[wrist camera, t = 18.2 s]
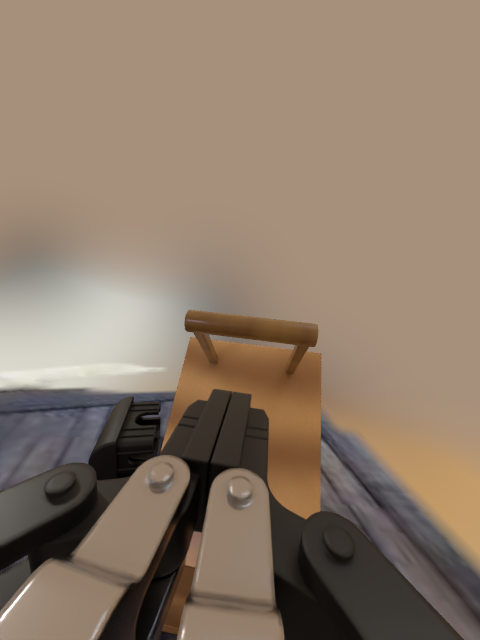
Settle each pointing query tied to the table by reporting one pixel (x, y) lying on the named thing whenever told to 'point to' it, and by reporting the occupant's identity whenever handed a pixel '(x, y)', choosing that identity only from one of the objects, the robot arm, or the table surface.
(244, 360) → the box lid
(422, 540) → the table surface
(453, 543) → the table surface
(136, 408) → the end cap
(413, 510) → the table surface
